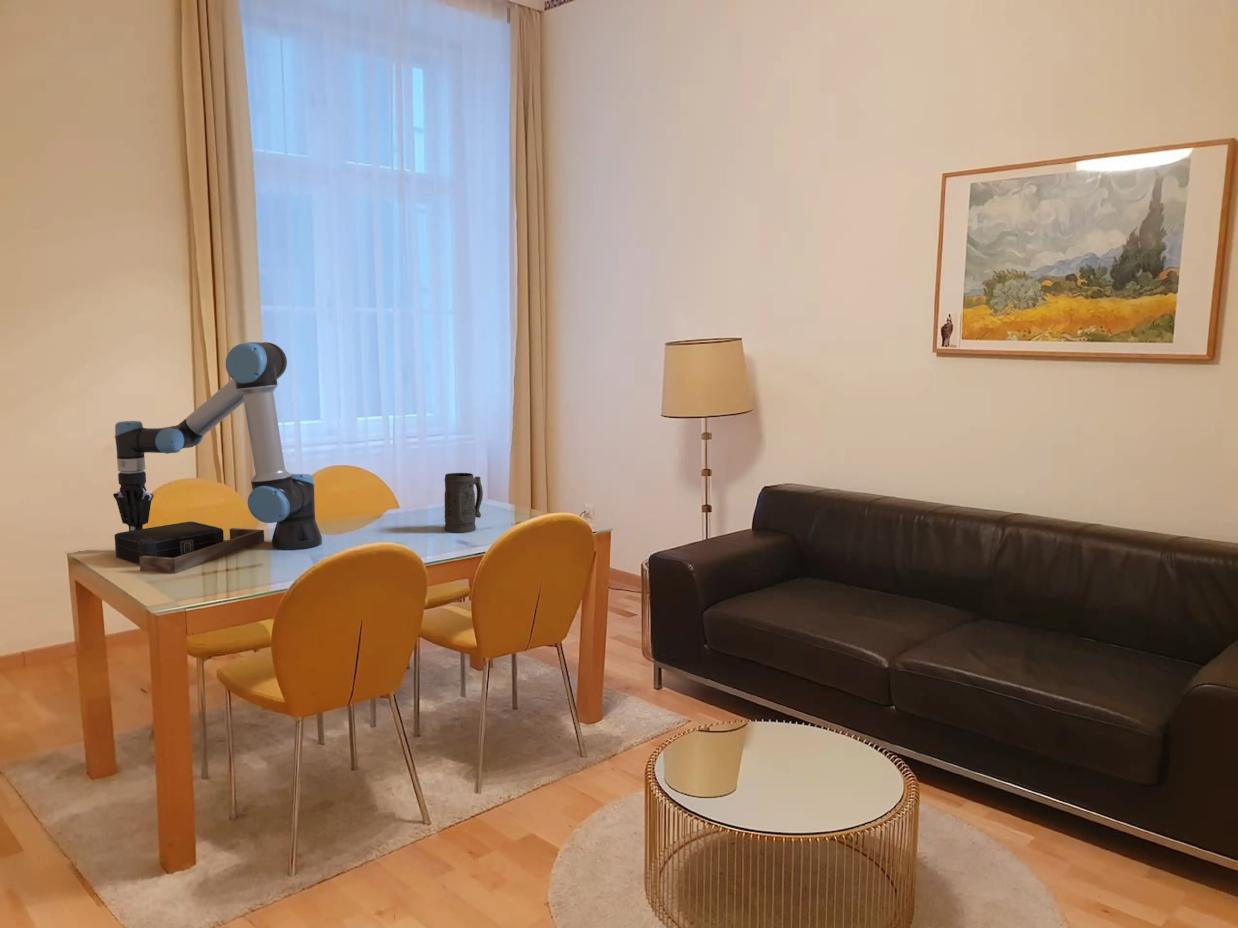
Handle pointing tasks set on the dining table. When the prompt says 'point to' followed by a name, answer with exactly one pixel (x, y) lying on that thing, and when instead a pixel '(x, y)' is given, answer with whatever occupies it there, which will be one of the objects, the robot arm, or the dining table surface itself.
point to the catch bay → (204, 552)
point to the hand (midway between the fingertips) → (136, 546)
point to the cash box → (166, 540)
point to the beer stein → (461, 502)
